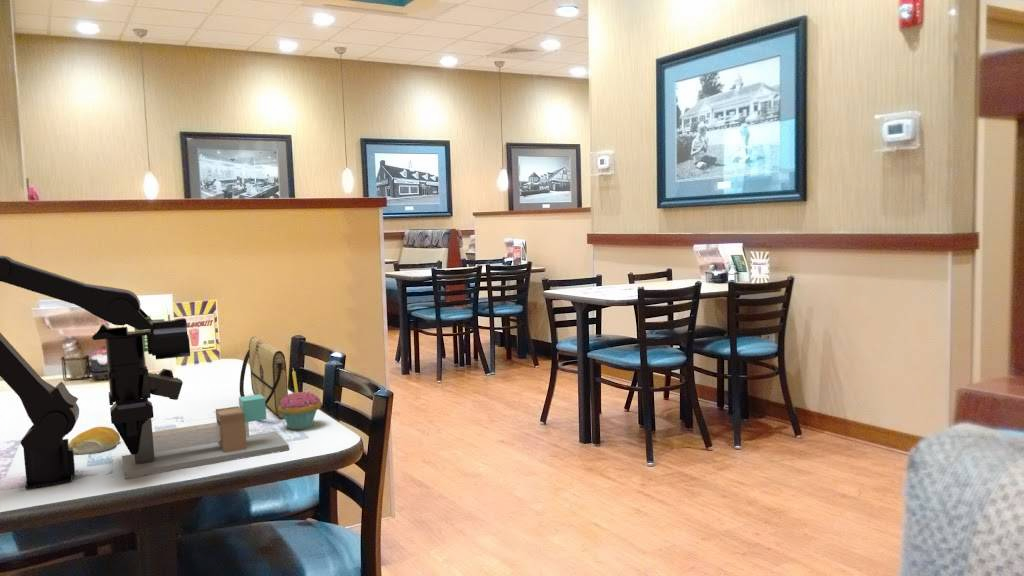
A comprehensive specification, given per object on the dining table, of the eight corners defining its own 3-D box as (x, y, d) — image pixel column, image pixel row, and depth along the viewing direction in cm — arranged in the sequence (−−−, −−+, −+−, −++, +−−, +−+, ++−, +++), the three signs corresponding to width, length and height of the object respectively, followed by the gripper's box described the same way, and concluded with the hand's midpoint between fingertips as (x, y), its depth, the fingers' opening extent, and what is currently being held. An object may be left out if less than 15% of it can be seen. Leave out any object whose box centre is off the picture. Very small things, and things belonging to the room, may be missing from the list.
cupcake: (272, 427, 155) (268, 369, 154) (309, 418, 161) (305, 363, 160) (292, 434, 149) (288, 374, 148) (330, 425, 155) (327, 368, 154)
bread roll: (124, 440, 150) (122, 420, 150) (111, 453, 141) (109, 432, 141) (78, 444, 148) (77, 424, 148) (62, 457, 139) (60, 436, 139)
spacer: (243, 422, 138) (242, 401, 137) (240, 418, 141) (238, 397, 141) (266, 419, 139) (265, 398, 139) (262, 414, 143) (260, 394, 143)
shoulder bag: (233, 399, 182) (229, 338, 181) (262, 395, 186) (258, 335, 184) (258, 425, 157) (253, 355, 155) (292, 420, 160) (288, 351, 159)
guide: (124, 478, 125) (121, 434, 125) (122, 461, 135) (119, 420, 134) (288, 449, 138) (286, 410, 138) (276, 436, 148) (273, 398, 147)
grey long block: (135, 463, 129) (132, 422, 128) (134, 457, 133) (131, 417, 132) (250, 444, 138) (247, 405, 138) (246, 439, 142) (243, 401, 141)
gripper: (182, 364, 125) (190, 455, 126) (172, 350, 141) (179, 431, 143) (107, 373, 120) (115, 468, 121) (105, 357, 136) (112, 441, 137)
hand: (134, 450), depth 131 cm, fingers closed on grey long block, 4 cm apart
